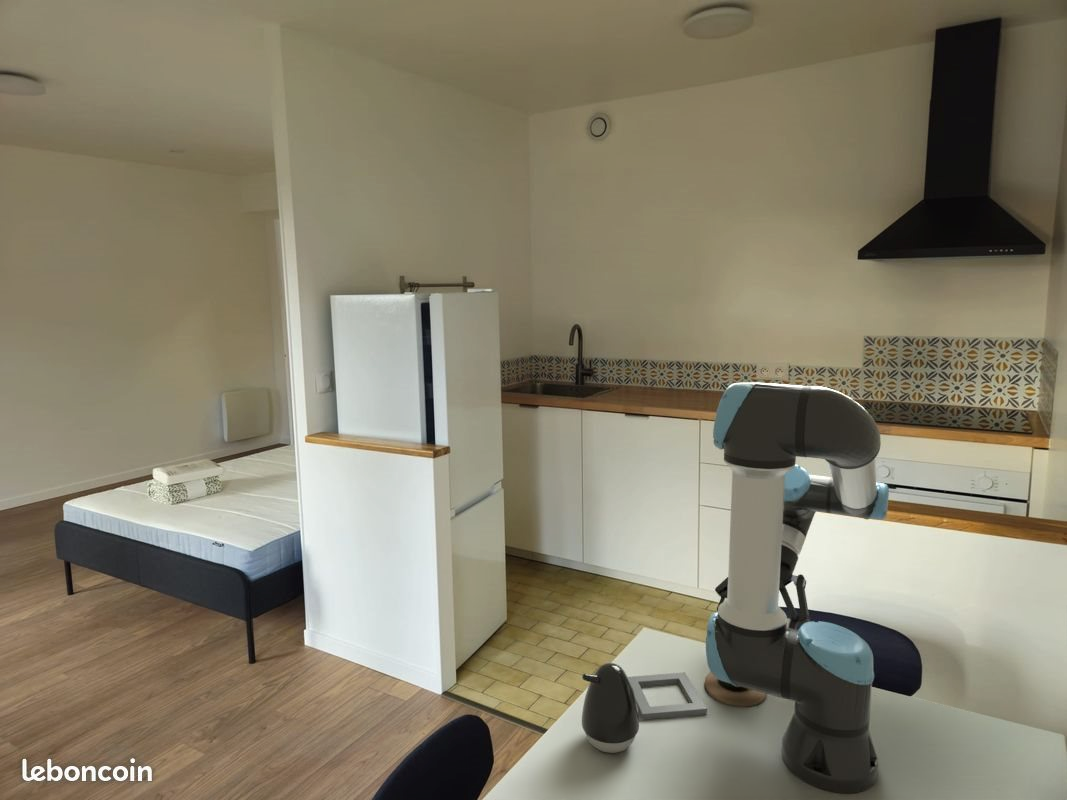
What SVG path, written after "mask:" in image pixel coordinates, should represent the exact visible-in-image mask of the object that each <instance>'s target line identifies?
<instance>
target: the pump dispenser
mask: <svg viewBox="0 0 1067 800" xmlns="http://www.w3.org/2000/svg"><path fill="white" fill-rule="evenodd" d="M581 677H582V680H583V681H586V682H589V684H588V688H587V690H586V693H585V695H584V696H585V697H584V700H583V701H584V702H583V708H582V712H581V727H582V729H583V731H584V733H585V736H586V738H587V740H588V742H589V743H590V744H591V745H592V746H593V747H594V748H595V749H597V750H599V751H601V752H604V753H610V754H615V753H620V752H623V751H625V750H627V749H628V748H629V747H630V746H631V745H632V744H633V742H634V740H635V738H636V736H637V735H638V732H639V729H640V716H639V715H640V714H639V710H638V708H637V702H636V698H635V694H634V691H633V688H632V686H631V683H630V681H629V679H628V677H629V676H628V675H627V673H626V671H625V670H624V669H623V668H622V666H621V665H619V664H617V663H614V662H606V663H603V664H602V665H600V666H599V667H598V668H597V669H596V671H595V672H594V673H593V674H590V673H582V676H581Z"/></svg>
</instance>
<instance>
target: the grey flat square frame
mask: <svg viewBox="0 0 1067 800" xmlns="http://www.w3.org/2000/svg"><path fill="white" fill-rule="evenodd" d="M628 679H629V681H630V683H631V686H632V688H633V691H634V694H635V698H636V702H637V708H638V714H639V715H640V718H641V719H642V721H644V720H646V721H647V720H653V719H654V720H655V719H656V720H657V719H666V718H669V719H670V718H677V717H690V716H702V715H704V716H705V715H708V708H707V706H706V704H705V703H704V701H703V700H702V698H701V696H700V695H699V693H698V691H697V690H696V688H695V686H694V684H693V683H692V682H691V680H690V678H689V676H688V675H687V673H686V672H672V673H671V672H670V673H663V674H662V673H660V674H650V675H649V674H647V675H646V674H645V675H635V676H628ZM665 685H666V686H668V685H679V687H680V689H681V690H682V692H683V694H684V696H685V697H686V699H687V700H688V702H689V703H681V704H679V703H677V704H667V705H656V706H651V705H650V704H649V702H648V700H647V697H646V695H645V694H644V691H643V689H642V687H643V688H644V687H656V686H665Z"/></svg>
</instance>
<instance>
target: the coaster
mask: <svg viewBox="0 0 1067 800" xmlns="http://www.w3.org/2000/svg"><path fill="white" fill-rule="evenodd" d="M704 689H705V691H706V692H707V694H708V695H709V696H710V697H712V698H713V699H714V700H717V701H719V702H721V703H723V704H726V705H729V706H733V707H740V708H741V707H743V708H744V707H752V706H756V705H759V704H761V703H762V702H764V700H765V698H766V696H767V694H766V693H763V692H759V691H755V690H752V689H748V690H747V691H744V692H733V691H729V690H727V689H725V688H723V687H722V686H720V684H719V683H718V681H717V678H715V676H714V675H713V674H712V673H711V671H709V672H708V673H706V676H705V677H704Z"/></svg>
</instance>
